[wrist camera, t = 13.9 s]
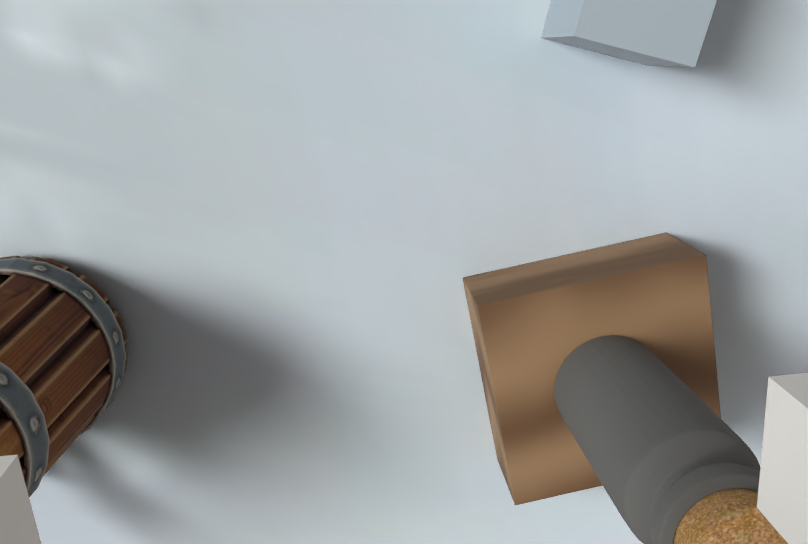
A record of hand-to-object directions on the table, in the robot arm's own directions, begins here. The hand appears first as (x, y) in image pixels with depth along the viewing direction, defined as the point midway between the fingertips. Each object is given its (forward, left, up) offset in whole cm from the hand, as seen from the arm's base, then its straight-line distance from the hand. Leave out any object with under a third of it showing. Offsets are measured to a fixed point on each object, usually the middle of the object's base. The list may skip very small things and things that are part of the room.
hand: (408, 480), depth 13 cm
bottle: (+10, +12, -25) cm, 29 cm away
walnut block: (+10, +13, -30) cm, 34 cm away
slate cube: (-10, +14, -30) cm, 34 cm away
